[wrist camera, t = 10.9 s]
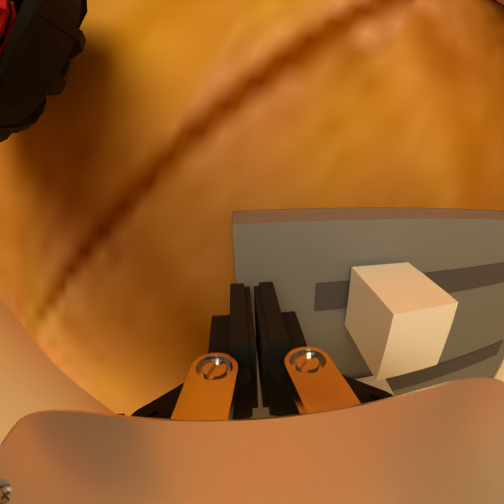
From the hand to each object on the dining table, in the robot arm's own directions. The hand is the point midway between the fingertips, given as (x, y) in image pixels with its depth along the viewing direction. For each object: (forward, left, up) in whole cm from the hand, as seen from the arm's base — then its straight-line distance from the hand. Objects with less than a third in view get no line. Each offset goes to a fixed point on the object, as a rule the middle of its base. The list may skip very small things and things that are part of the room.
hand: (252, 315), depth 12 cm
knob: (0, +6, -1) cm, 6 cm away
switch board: (+7, +12, -4) cm, 15 cm away
